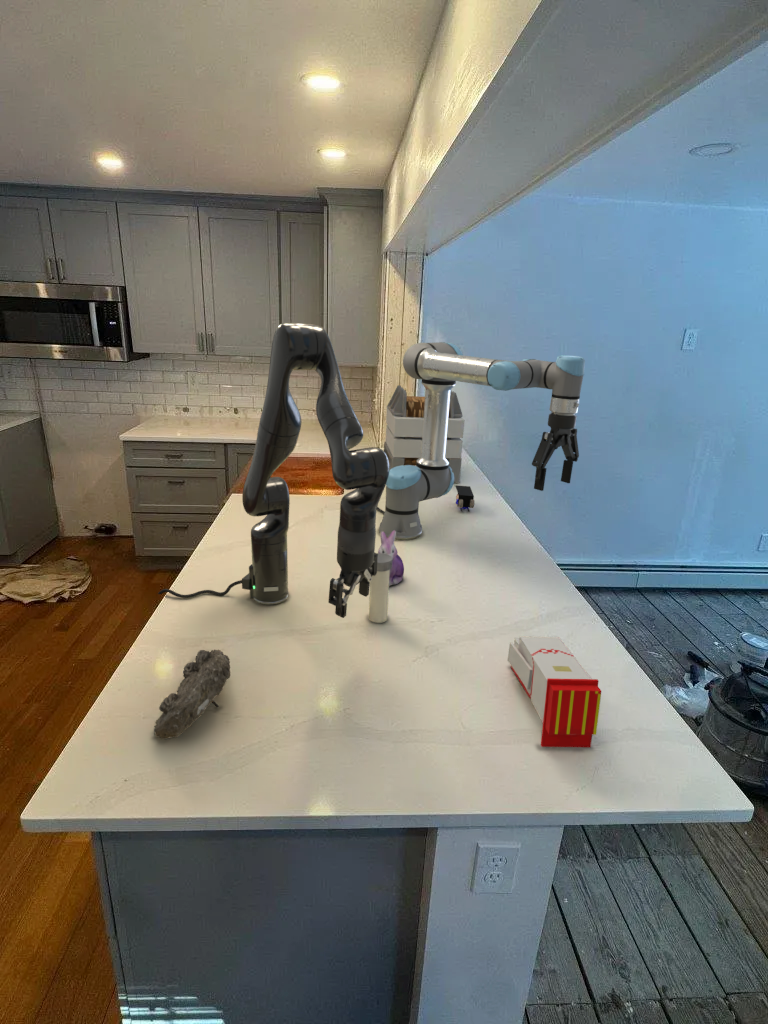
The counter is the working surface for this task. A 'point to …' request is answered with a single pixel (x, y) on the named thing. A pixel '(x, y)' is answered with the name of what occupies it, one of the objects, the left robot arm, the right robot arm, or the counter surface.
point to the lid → (383, 562)
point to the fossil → (193, 693)
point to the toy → (557, 690)
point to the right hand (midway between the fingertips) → (552, 485)
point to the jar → (379, 597)
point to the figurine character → (464, 497)
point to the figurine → (391, 550)
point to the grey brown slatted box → (419, 431)
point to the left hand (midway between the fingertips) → (352, 604)
